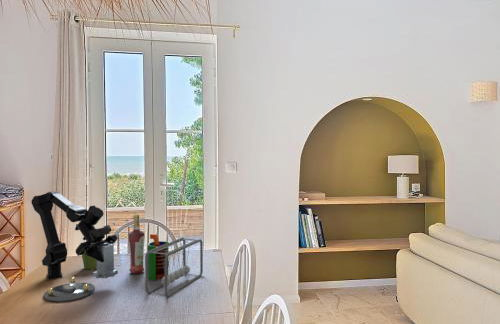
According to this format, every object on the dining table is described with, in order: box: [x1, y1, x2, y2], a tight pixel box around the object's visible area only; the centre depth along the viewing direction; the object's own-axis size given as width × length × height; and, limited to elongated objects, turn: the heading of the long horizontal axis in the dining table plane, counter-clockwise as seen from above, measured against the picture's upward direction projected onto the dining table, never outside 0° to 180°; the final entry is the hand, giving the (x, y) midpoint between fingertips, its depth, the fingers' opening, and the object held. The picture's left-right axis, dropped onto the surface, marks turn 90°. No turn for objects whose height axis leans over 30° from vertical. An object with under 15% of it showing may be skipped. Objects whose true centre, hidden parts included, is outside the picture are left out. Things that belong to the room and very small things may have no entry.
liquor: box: [128, 213, 145, 275], centre depth 181 cm, size 7×7×28 cm
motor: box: [147, 233, 170, 282], centre depth 175 cm, size 10×9×20 cm
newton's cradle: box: [144, 237, 204, 298], centre depth 165 cm, size 30×10×18 cm, turn 158°
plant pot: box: [81, 250, 97, 271], centre depth 189 cm, size 12×12×11 cm
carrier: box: [43, 276, 96, 303], centre depth 156 cm, size 19×19×4 cm
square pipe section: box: [92, 243, 119, 280], centre depth 161 cm, size 9×9×13 cm
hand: (107, 260), depth 160 cm, fingers closed on square pipe section, 5 cm apart
